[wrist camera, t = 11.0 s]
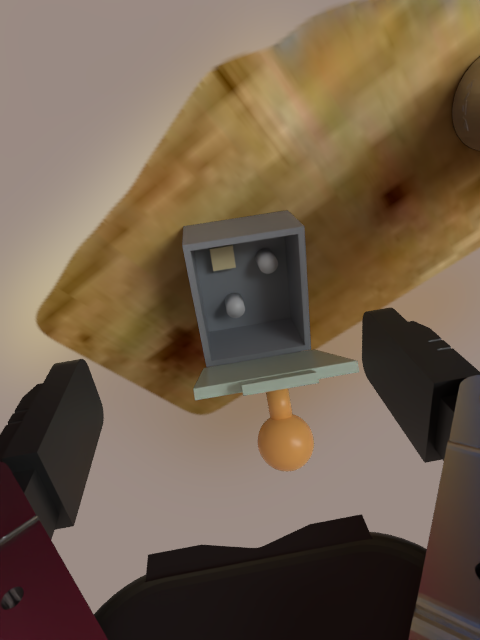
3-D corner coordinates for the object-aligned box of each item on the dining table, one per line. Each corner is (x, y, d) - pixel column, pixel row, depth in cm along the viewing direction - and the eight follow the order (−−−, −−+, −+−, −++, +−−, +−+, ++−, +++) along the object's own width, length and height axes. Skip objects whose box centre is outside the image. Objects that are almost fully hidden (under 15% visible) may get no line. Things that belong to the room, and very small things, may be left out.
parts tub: (287, 210, 42) (304, 226, 36) (295, 323, 48) (311, 354, 42) (183, 226, 42) (182, 245, 35) (205, 338, 48) (207, 371, 42)
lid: (366, 363, 26) (384, 468, 26) (314, 349, 42) (325, 416, 42) (191, 393, 26) (208, 500, 26) (203, 368, 41) (214, 435, 41)
